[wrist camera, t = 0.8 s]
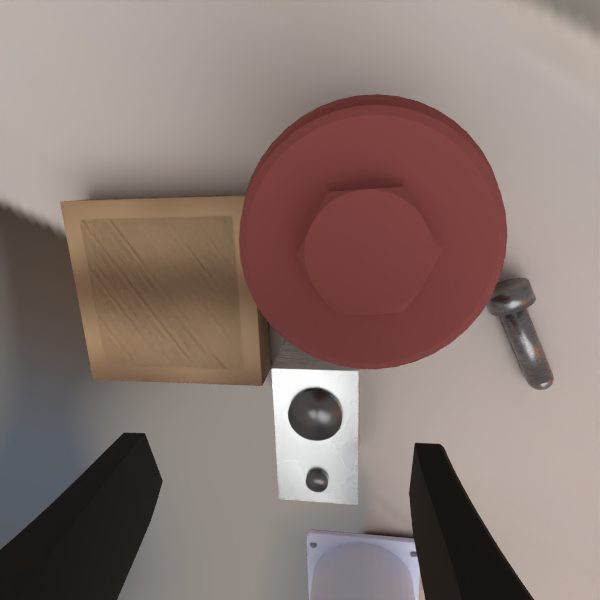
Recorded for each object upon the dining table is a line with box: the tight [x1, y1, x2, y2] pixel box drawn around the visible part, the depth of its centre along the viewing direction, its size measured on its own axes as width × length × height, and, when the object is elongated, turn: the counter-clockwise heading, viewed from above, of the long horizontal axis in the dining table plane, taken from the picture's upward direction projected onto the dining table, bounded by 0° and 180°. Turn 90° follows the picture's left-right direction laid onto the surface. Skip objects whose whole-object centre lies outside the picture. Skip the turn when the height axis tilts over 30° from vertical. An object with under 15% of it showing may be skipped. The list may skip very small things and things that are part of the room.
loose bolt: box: [486, 278, 554, 390], centre depth 23 cm, size 7×2×2 cm, turn 27°
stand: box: [60, 195, 271, 386], centre depth 25 cm, size 11×11×2 cm
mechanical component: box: [239, 95, 507, 369], centre depth 18 cm, size 12×10×10 cm
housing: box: [271, 339, 359, 505], centre depth 25 cm, size 8×4×6 cm, turn 2°
